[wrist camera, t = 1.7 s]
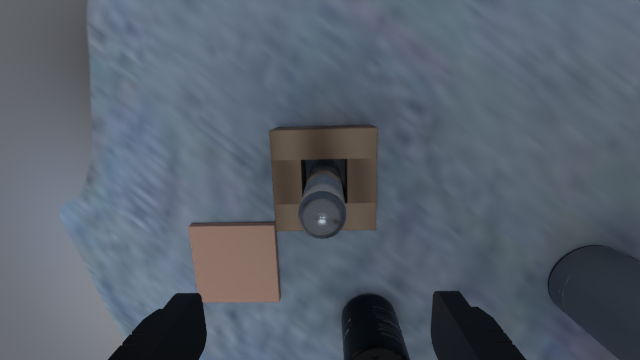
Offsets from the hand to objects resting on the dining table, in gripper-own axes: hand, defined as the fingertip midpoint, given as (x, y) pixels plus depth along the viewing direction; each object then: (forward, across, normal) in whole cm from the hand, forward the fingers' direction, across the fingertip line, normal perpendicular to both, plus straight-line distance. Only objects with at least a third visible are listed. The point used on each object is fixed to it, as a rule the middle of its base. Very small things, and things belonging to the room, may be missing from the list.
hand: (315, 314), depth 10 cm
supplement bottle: (+24, -5, +19) cm, 31 cm away
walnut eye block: (+24, 0, 0) cm, 24 cm away
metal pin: (+24, 0, 0) cm, 24 cm away
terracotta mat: (+24, +11, +11) cm, 28 cm away
